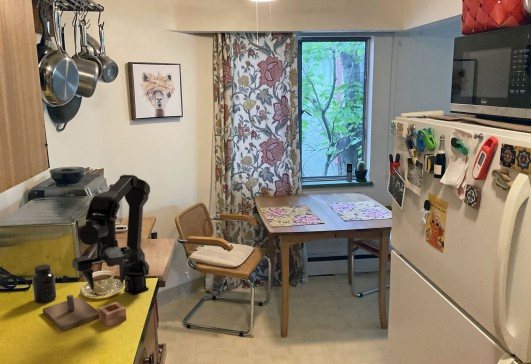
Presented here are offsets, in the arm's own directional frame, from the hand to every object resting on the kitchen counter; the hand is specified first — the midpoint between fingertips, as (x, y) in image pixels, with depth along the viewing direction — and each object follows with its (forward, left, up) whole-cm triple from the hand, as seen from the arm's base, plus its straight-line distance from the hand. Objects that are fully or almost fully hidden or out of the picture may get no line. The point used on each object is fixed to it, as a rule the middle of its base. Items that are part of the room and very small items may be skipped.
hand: (107, 286), depth 138 cm
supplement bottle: (+9, -29, -12) cm, 32 cm away
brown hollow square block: (-1, 0, -11) cm, 12 cm away
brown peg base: (+7, -12, -11) cm, 18 cm away
